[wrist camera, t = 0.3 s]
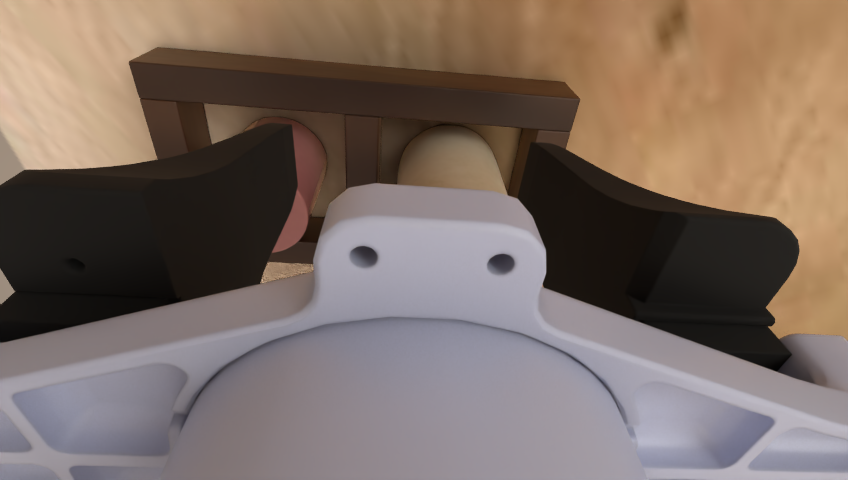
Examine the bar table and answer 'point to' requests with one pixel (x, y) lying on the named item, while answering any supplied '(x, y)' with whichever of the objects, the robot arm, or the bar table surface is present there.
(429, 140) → the candle
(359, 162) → the holder
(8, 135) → the bar table surface
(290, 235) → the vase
